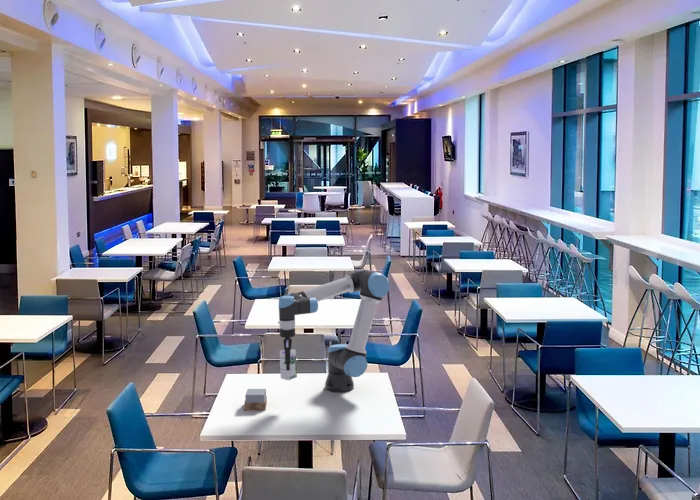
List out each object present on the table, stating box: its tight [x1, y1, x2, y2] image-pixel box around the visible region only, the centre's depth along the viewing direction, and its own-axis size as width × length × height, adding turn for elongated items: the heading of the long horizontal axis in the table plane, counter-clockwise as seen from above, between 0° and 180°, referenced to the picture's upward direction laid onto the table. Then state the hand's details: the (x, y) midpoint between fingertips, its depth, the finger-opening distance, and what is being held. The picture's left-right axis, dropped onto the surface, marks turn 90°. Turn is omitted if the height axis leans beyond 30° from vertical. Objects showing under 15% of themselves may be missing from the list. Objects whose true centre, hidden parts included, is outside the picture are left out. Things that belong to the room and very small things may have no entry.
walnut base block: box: [243, 395, 268, 412], centre depth 365 cm, size 10×10×4 cm
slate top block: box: [244, 388, 267, 403], centre depth 365 cm, size 9×9×4 cm
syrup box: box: [279, 347, 298, 381], centre depth 364 cm, size 6×6×14 cm
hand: (288, 373), depth 364 cm, fingers closed on syrup box, 8 cm apart
